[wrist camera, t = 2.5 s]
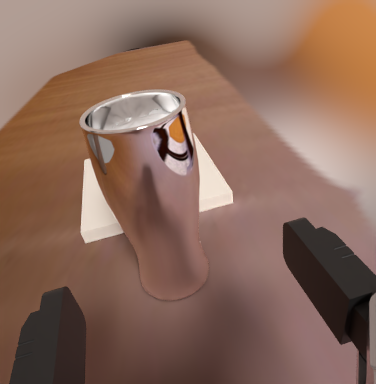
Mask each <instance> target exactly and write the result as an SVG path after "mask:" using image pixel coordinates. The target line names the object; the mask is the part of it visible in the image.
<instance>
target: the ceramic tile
mask: <svg viewBox="0 0 376 384" xmlns="http://www.w3.org/2000/svg"><path fill="white" fill-rule="evenodd" d="M193 135H194V140H195V145H196V150H197V156H198V163H199V172H200V208H199V212H202V211H205V210H209V209H213V208H216V207H220V206H224V205H227V204H231V203H233V195H232V191H231V189H230V188H229V186H228V184H227V183H226V181H225V180H224V178H223V177H222V175H221V174H220V172H219V171H218V169H217V168H216V166H215V164H214V163H213V161H212V160H211V158H210V157H209V155H208V154H207V152H206V151H205V149H204V148H203V146H202V145H201V143H200V141H199V140H198V138H197V137H196V135H195V134H194V133H193ZM122 233H124V231H123V230H122V228H121V227H120V225H119V224H118V222H117V220H116V219H115V217H114V216H113V214H112V212H111V210H110V208H109V206H108V205H107V203H106V201H105V199H104V197H103V194H102V192H101V189H100V187H99V185H98V182H97V179H96V176H95V173H94V170H93V167H92V164H91V160H90V159H87V160H85V162H84V180H83V199H82V217H81V234H82V237H83V239H84V241H85V243H89V242H92V241H96V240H100V239H103V238H107V237H111V236H114V235H118V234H122Z"/></svg>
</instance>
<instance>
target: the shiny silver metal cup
mask: <svg viewBox="0 0 376 384" xmlns="http://www.w3.org/2000/svg"><path fill="white" fill-rule="evenodd" d="M80 126H81V128H82V131H83V134H84V138H85V142H86V146H87V150H88V153H89V157H90V160H91V164H92V167H93V170H94V173H95V176H96V179H97V182H98V185H99V187H100V189H101V192H102V194H103V197H104V199H105V201H106V203H107V205H108V206H109V208H110V210H111V212H112V214H113V216H114V217H115V219H116V220H117V222H118V224H119V225H120V227H121V228H122V230H123V231H124V233H125V234H126V236H127V238H128V239H129V241H130V242H131V244H132V246H133V247H134V249H135V252H136V254H137V257H138V261H139V273H140V280H141V284H142V286H143V288H144V289H145V291H146V292H147V293H148V294H150V295H151V296H153V297H155V298H157V299H161V300H179V299H182V298H185V297H188V296H190V295H192V294H193V293H195V292H196V291H197V290H199V289H200V288H201V287H202V285H203V284H204V283H205V281H206V279H207V277H208V273H209V263H208V259H207V257H206V255H205V253H204V250H203V248H202V246H201V243H200V238H199V208H200V172H199V163H198V156H197V150H196V145H195V140H194V135H193V131H192V127H191V123H190V119H189V115H188V111H187V107H186V100H185V98H184V96H183V95H182V94H180V93H178V92H175V91H170V90H143V91H137V92H131V93H127V94H123V95H119V96H116V97H113V98H110V99H107V100H105V101H102V102H100V103H98V104H96V105H94V106H93V107H91V108H90V109H88V110H87V111H86V112H85V113H84V114H83V115H82V116H81V118H80Z"/></svg>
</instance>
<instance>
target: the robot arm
mask: <svg viewBox="0 0 376 384" xmlns="http://www.w3.org/2000/svg"><path fill="white" fill-rule="evenodd" d="M283 256H284V259H285V262H286V264H287V266H288V268H289V270H290V271H291V272H292V274H293V275H294V277H295V278H296V280H297V281H298V283H299V284H300V286H301V287H302V289H303V290H304V292H305V293H306V294H307V296H308V297H309V299H310V300H311V302H312V303H313V305H314V306H315V308H316V309H317V311H318V312H319V314H320V315H321V316H322V318H323V319H324V321H325V322H326V324H327V325H328V327H329V328H330V330H331V331H332V333H333V334H334V336H335V337H336V338H337V340H338V341H339V343H340V344H341V345H342V344H345V343H348V342H351V341H352V342H353V343H354V345H355V346H356V348H357V349H358V350H357V369H356V384H376V275H375V274H374V273H373V272H372V271H371V270H370V269H369V268H368V267H367V266H366V265H365V264H364V263H363V262H362V261H361V260H360V259H359V258H358V257H357V256H356V255H354V252H353V251H352V250H351V249H350V248H349V247H348V246H346V244H345V243H344V242H343V241H342V240H341V239H340V238H339V237H338V236H337V235H336V234H335V233H333V232H331V231H329V230H327V229H325V228H323V227H320V228H317V229H315V227H314V226H313V225H312V224H311V223H310V222H309V221H308V220H307V219H306V218H300V219H297V220H293V221H290V222H286V223H284V225H283ZM85 353H86V322H85V318H84V315H83V312H82V310H81V309H80V307H79V305H78V303H77V302H76V300H75V298H74V296H73V295H72V293H71V291H70V289H69V288H68V287H62V288H59V289H55V290H52V291H49V292H45V293H44V294H43V295H42V299H41V305H40V310H39V311H36V312H33V313H31V314H30V315H29V317H28V319H27V320H26V322H25V323H24V325H23V327H22V328H21V333H20V337H19V342H18V347H17V351H16V356H15V358H16V360H15V361H14V365H13V369H12V374H11V378H10V383H9V384H85Z"/></svg>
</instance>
